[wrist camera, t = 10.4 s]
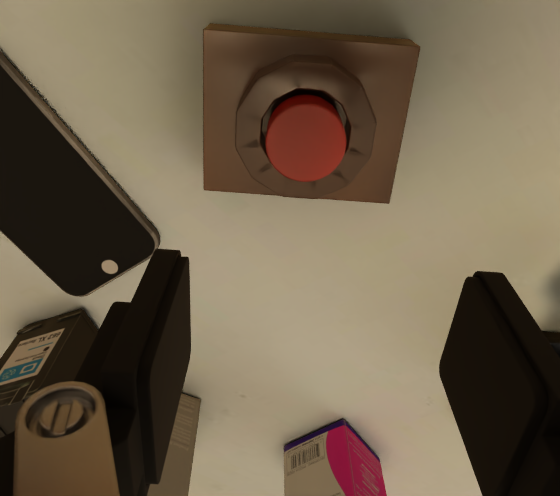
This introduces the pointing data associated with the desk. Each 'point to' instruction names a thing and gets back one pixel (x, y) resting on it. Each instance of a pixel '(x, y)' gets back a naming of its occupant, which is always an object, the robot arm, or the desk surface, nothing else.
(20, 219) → the smartphone
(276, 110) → the button
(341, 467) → the supplement box
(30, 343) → the ink cartridge
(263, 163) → the button box
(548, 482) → the robot arm
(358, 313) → the desk surface
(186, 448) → the cosmetic box
